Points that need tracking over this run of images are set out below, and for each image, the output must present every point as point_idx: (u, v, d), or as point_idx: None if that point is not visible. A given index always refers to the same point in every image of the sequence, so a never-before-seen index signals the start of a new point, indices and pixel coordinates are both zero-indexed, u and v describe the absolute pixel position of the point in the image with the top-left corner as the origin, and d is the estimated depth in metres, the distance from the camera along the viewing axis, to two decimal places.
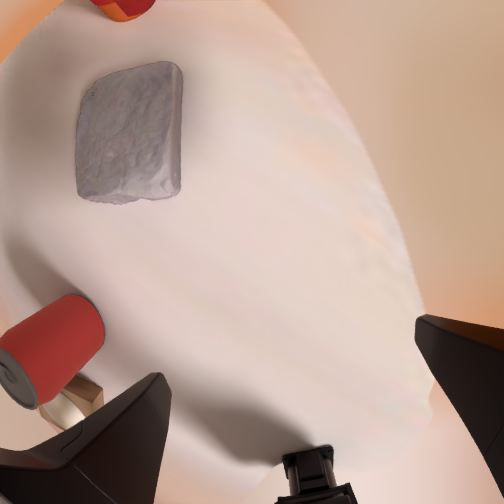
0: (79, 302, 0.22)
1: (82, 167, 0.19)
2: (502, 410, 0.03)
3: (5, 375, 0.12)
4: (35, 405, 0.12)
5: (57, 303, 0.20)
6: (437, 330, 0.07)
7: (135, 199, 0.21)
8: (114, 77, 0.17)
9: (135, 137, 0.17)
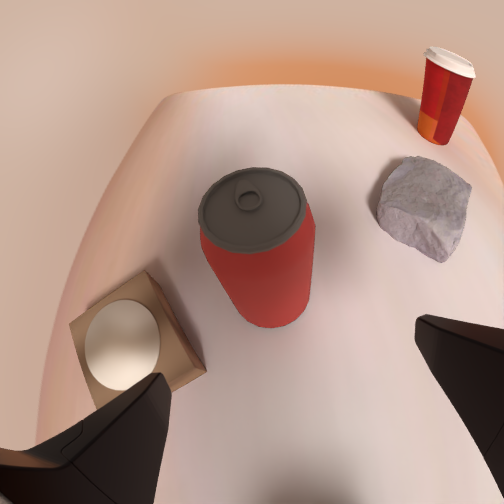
0: None
1: (392, 191, 0.24)
2: (502, 410, 0.03)
3: (238, 196, 0.14)
4: (262, 246, 0.12)
5: None
6: (437, 330, 0.07)
7: (412, 245, 0.24)
8: (435, 163, 0.25)
9: (445, 203, 0.22)
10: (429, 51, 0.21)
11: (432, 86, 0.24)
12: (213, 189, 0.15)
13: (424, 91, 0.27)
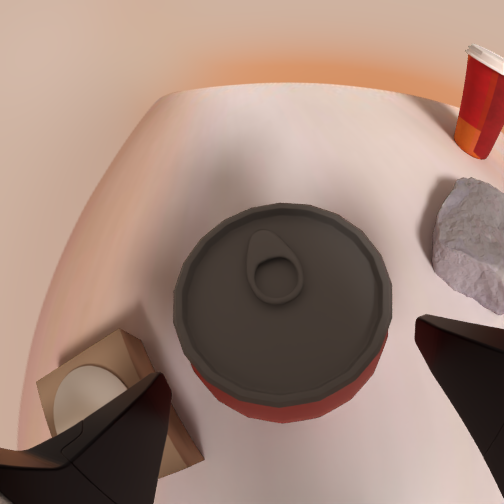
0: None
1: (452, 226, 0.17)
2: (502, 410, 0.03)
3: (254, 267, 0.07)
4: (307, 398, 0.05)
5: None
6: (437, 330, 0.07)
7: (470, 295, 0.16)
8: (491, 187, 0.17)
9: None
10: (473, 48, 0.15)
11: (477, 90, 0.17)
12: (204, 247, 0.08)
13: (465, 95, 0.20)
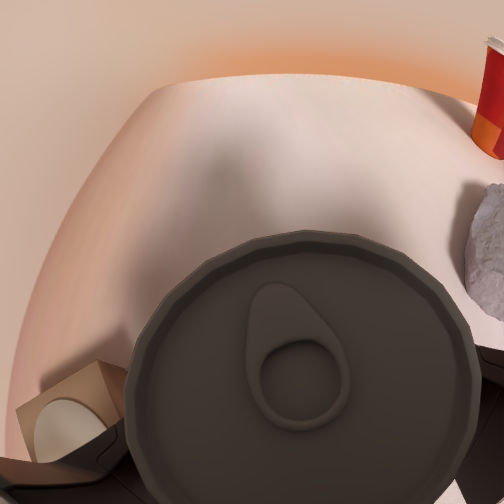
0: None
1: (488, 241, 0.13)
2: None
3: (259, 358, 0.04)
4: None
5: None
6: None
7: (503, 319, 0.12)
8: None
9: None
10: (493, 40, 0.11)
11: (498, 84, 0.14)
12: (171, 313, 0.04)
13: (485, 90, 0.16)
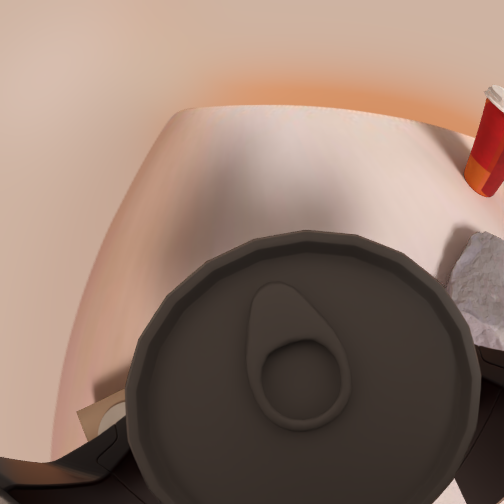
0: None
1: (463, 286, 0.18)
2: None
3: (260, 358, 0.04)
4: None
5: None
6: None
7: None
8: (502, 243, 0.19)
9: None
10: (493, 92, 0.16)
11: (491, 134, 0.19)
12: (172, 313, 0.04)
13: (479, 137, 0.21)
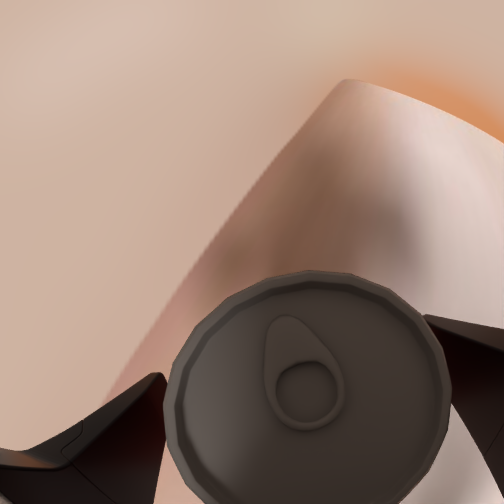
0: None
1: None
2: (502, 410, 0.03)
3: (274, 376, 0.05)
4: None
5: None
6: (437, 330, 0.07)
7: None
8: None
9: None
10: None
11: None
12: (201, 341, 0.05)
13: None
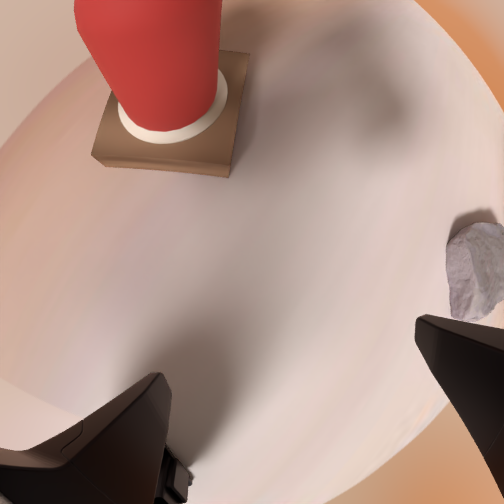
0: None
1: (477, 237, 0.21)
2: (502, 410, 0.03)
3: None
4: None
5: None
6: (437, 330, 0.07)
7: (450, 283, 0.23)
8: None
9: (493, 287, 0.20)
10: None
11: None
12: None
13: None
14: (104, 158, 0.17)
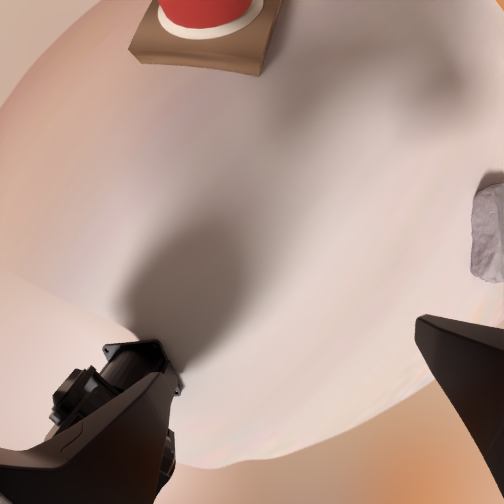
0: None
1: None
2: (502, 410, 0.03)
3: None
4: None
5: None
6: (437, 330, 0.07)
7: (474, 236, 0.20)
8: None
9: None
10: None
11: None
12: None
13: None
14: (140, 53, 0.15)
